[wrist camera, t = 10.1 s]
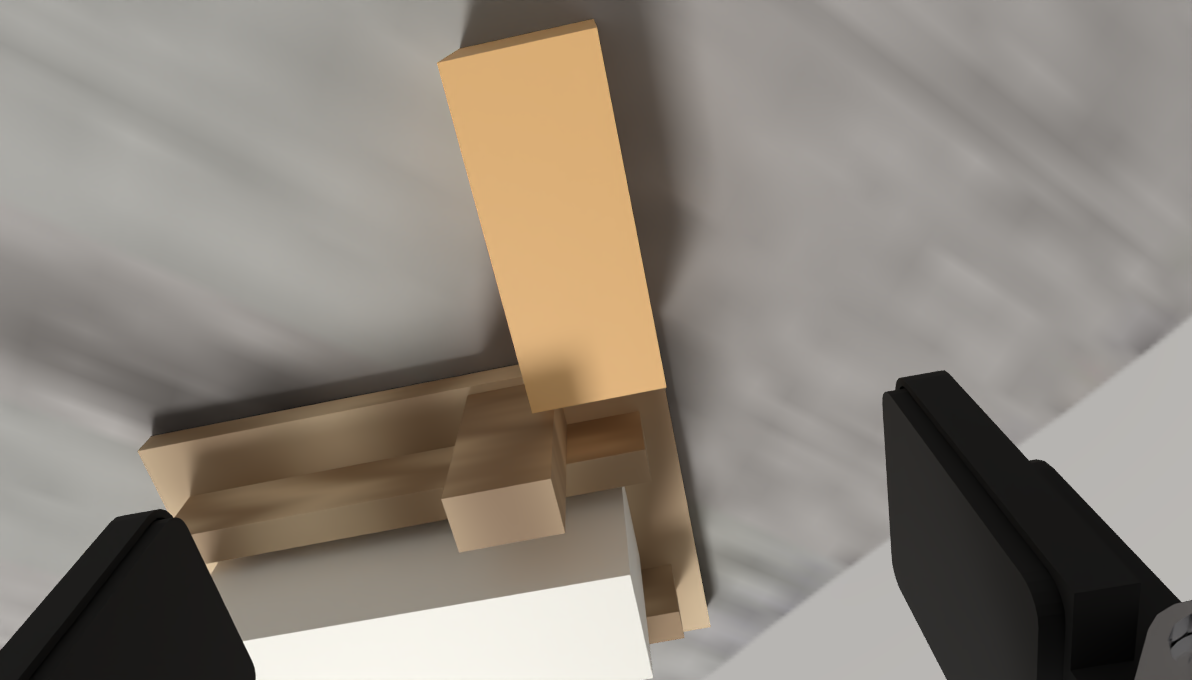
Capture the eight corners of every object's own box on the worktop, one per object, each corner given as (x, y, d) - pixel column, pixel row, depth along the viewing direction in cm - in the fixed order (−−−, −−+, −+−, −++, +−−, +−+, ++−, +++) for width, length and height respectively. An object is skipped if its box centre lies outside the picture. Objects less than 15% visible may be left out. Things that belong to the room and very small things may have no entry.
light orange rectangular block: (538, 349, 28) (532, 413, 24) (460, 48, 24) (437, 62, 20) (653, 327, 28) (666, 387, 24) (593, 18, 24) (596, 27, 20)
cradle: (272, 684, 34) (202, 850, 27) (151, 436, 29) (31, 566, 23) (706, 608, 33) (738, 762, 26) (654, 337, 28) (679, 444, 22)
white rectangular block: (274, 618, 31) (212, 750, 26) (235, 533, 30) (161, 655, 24) (639, 555, 30) (653, 677, 25) (619, 464, 29) (630, 574, 24)
